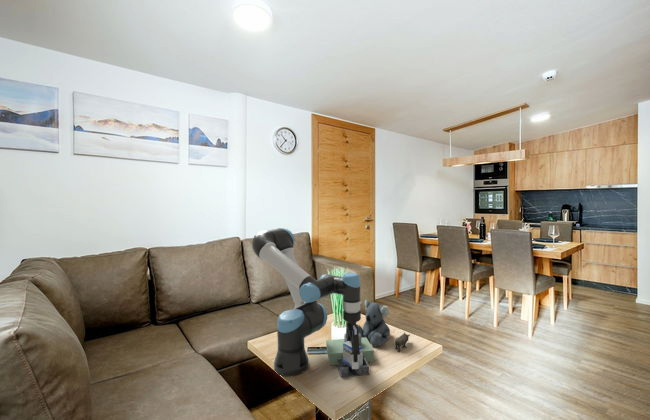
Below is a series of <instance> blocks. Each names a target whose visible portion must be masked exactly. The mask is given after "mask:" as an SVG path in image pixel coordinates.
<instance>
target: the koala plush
mask: <svg viewBox="0 0 650 420" xmlns="http://www.w3.org/2000/svg"><path fill="white" fill-rule="evenodd" d="M364 306H365V308H364V309H365V322H364V324H363V327H362V326H361V325H360V324H357V325H358V330H359V333H360V334H361V338H365V337H366V338H367V339H368V341H370V345H371V346H372V348H373V347H374V348H378V347H380V346H382V345H383V344H385V343H386V342H387V341H388V339H389V337H390V334H391V329H390V327H389V326H388V325H387V323H386V321H385V320H384V318H386V317H387V316H388V315H389V313H390V310H389V306H388V305H385V304H384V305H380V304H379V303H378V302H371V301H370V300H369V299H364Z"/></svg>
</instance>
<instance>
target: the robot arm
mask: <svg viewBox="0 0 650 420" xmlns="http://www.w3.org/2000/svg"><path fill="white" fill-rule="evenodd" d="M251 246H252V250H253V253H254V254H255V255H256V256H257V257H258V258H259V259H260V260H261V261H266V262H267V263H268V265H270V266H271V267H273V268H274V269H275V270H276V271H277V272H278V273H279V274H280V275H281V276H282V277H283V278H284V280H285V283H286V285H287V288H288V290H289V292H290V295H291V298H292V299H293V303H294V307H293V308H292V309H287V310H285V311H283V312H282V313H280V314H279V316H278V317H277V324H276V328H277V331H276V333H277V352H276V355H275V358H274V361H273V368H274V369H273V370H274V371H275V372H276V373H277V374H278V375H280V376H284V377H285V376H286V377H291V376H297V375H300V374H302V373H305V372H306V371H307V370H308V369H309V366H310V365H309V357H308V354H307V352H306V347H305V338H307V337H309V336H310V335H312V334H314V333H315V332H318V331H320V330H321V329H323V328H324V327H325V326H326V324H327V320H328V312H327V309H326V307H325V306H324V305H323V304H321V303H319V302H318V300H321V299H322V298H325V297H327V296H330V295H333V294H336V295H339V296H340V295H342V310H343V311H342V319H343V320H344V321H345V322H346V327H345V333H346V338H347V341H351V345H352V353H351V354H352V369H359V362H358V355H360V350H359V330H358V325H359V324H357V322H359V321H361V320H362V317H361V316H362V312H361V310H362V309H361V305H362V304H363V303H362V301H361V286H362V284H361V276H360V275H359V274H358V273H356V272H345V273H343V274H342V276H338V275H334V274H330V273H329V274H327V273H326V274H325V273H324V274H322V275H321V276H320V277H319V278H318V279H315V278H314V277H313V276H311V274H309V273H308V272H306V271H305V270H304V269H303V267H300V266H299V265H298V262H297V260H296V258H295V255H294V250H295V248H294V246H295V236H294V234H293V232H292V231H291V230H290V229H288V228H283V227H282V228H274V229H273V228H271V229H263V230H260V231H258V232H257V233H255V235H254V236H253V237H252V241H251Z"/></svg>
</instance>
